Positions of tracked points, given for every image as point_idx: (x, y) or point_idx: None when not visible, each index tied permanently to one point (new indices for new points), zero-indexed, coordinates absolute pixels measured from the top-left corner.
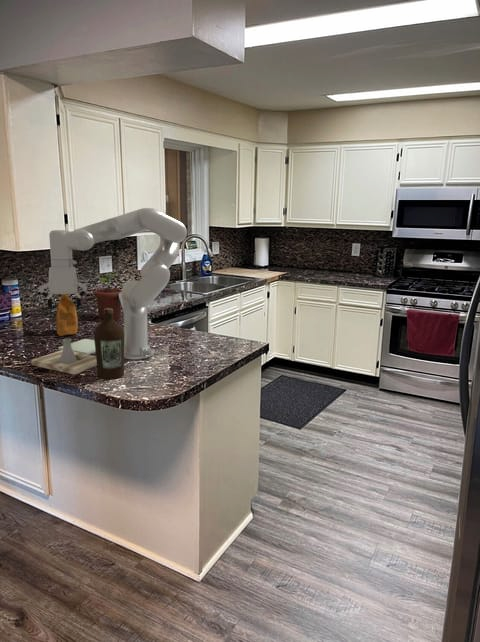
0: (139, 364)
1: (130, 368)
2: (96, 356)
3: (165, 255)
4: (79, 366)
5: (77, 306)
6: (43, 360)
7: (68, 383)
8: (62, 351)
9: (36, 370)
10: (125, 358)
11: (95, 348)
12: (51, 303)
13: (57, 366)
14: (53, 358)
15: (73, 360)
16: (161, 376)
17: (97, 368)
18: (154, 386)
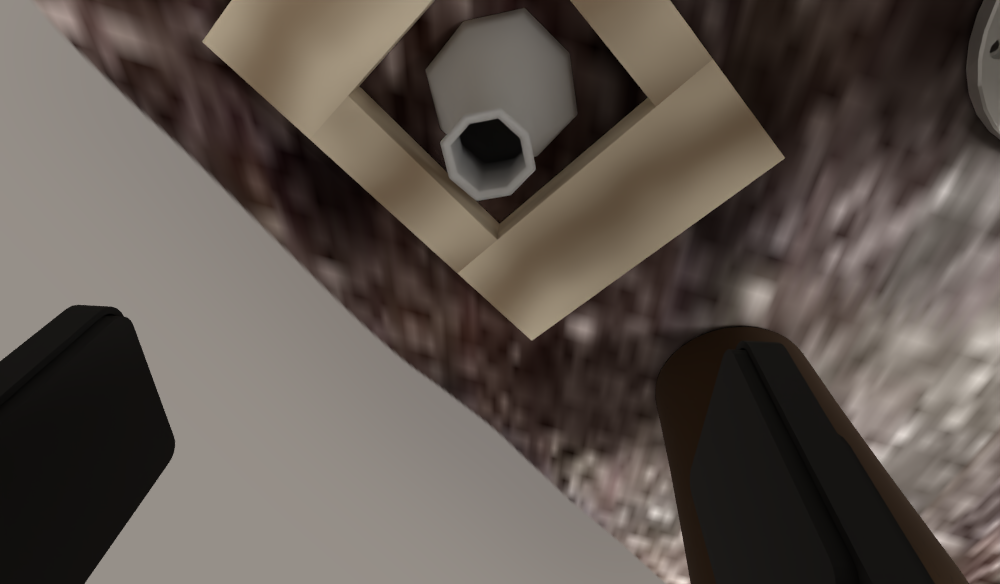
0: (987, 258)
1: (886, 315)
2: (675, 493)
3: None
4: (570, 298)
5: (710, 519)
6: (305, 83)
7: (497, 423)
8: (450, 114)
9: (291, 176)
10: (972, 98)
11: (684, 538)
12: (88, 568)
13: (427, 243)
14: (378, 46)
15: (540, 148)
16: (970, 468)
17: (662, 429)
18: None
